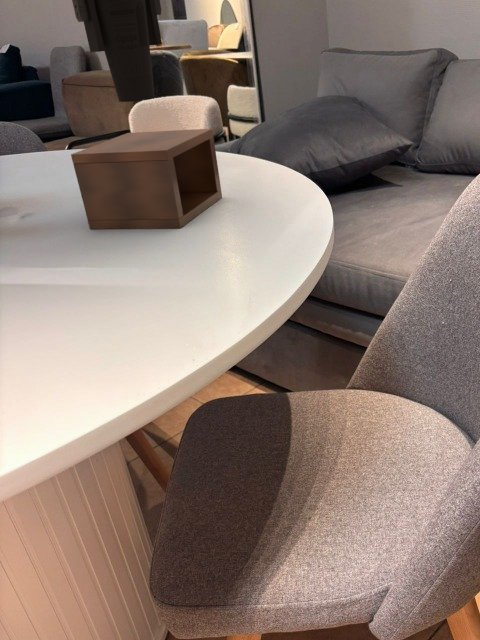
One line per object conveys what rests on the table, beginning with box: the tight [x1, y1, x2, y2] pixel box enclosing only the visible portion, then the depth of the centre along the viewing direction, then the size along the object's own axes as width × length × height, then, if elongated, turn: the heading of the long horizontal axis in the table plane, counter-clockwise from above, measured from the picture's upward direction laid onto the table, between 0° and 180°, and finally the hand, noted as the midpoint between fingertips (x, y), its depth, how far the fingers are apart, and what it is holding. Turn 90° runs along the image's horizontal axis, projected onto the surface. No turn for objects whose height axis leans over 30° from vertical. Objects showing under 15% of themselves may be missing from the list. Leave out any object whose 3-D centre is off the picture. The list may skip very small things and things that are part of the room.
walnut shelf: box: [70, 128, 223, 230], centre depth 92 cm, size 14×16×10 cm
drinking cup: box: [94, 0, 156, 103], centre depth 81 cm, size 8×8×20 cm
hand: (126, 47), depth 83 cm, fingers closed on drinking cup, 8 cm apart
